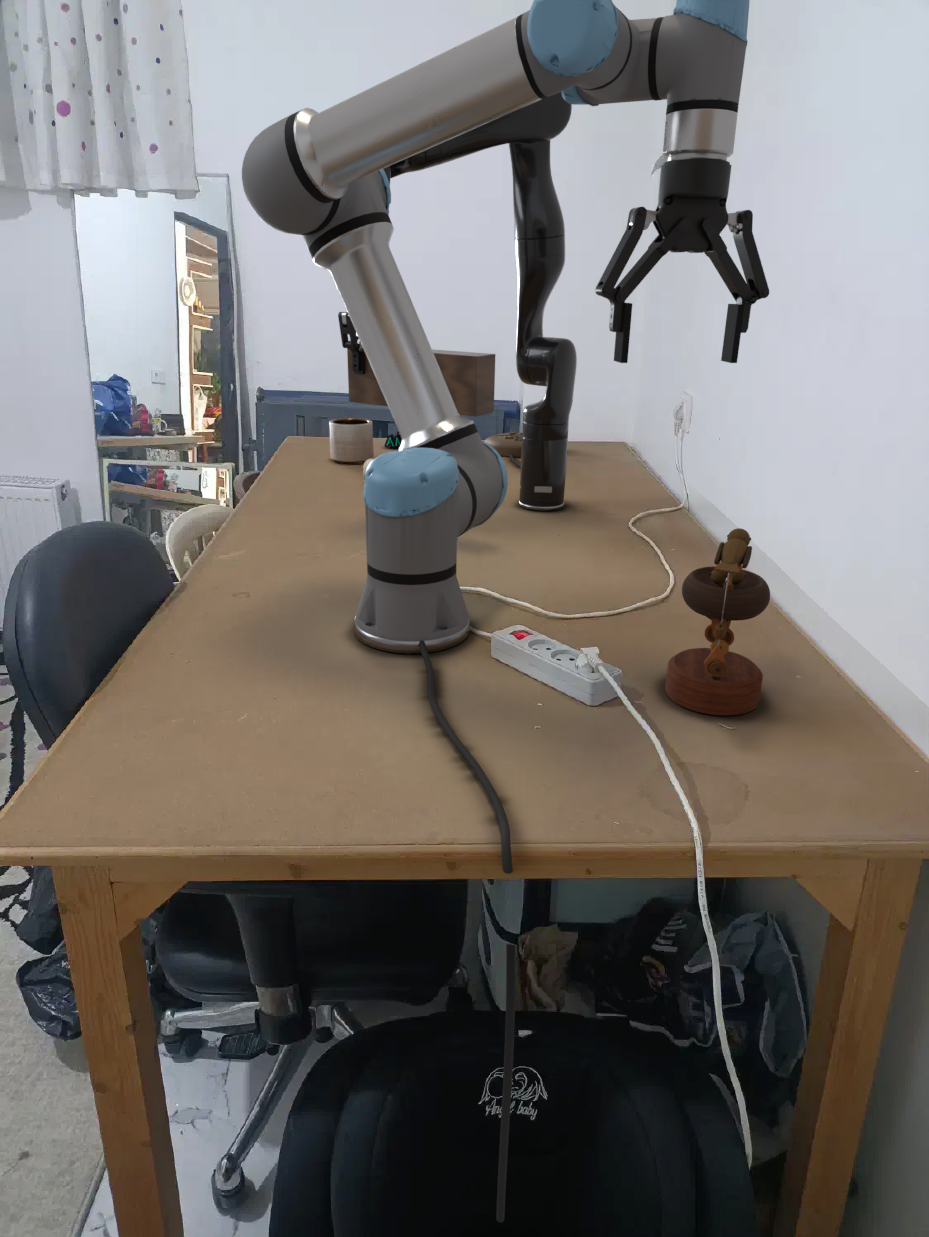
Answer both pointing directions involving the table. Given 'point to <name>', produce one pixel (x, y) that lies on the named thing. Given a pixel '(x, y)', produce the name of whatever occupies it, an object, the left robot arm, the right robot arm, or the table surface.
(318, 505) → the table surface
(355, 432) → the planter
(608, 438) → the table surface
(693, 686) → the music box
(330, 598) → the table surface
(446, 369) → the bar
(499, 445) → the brown flat oval slab
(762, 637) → the table surface
